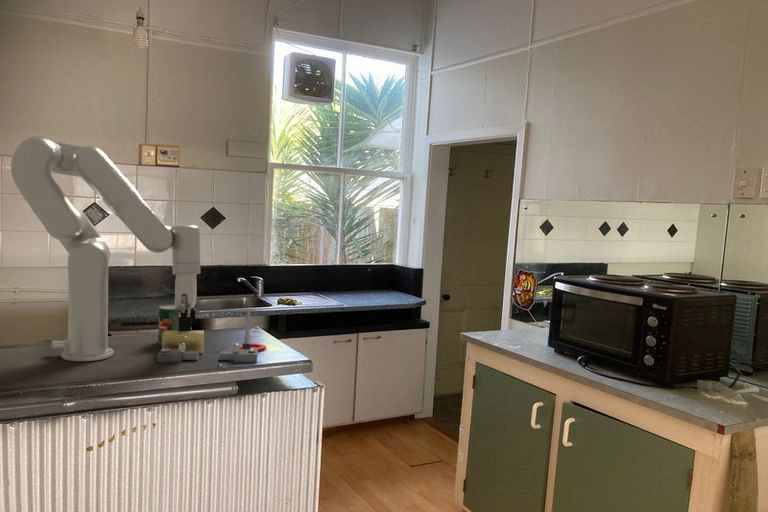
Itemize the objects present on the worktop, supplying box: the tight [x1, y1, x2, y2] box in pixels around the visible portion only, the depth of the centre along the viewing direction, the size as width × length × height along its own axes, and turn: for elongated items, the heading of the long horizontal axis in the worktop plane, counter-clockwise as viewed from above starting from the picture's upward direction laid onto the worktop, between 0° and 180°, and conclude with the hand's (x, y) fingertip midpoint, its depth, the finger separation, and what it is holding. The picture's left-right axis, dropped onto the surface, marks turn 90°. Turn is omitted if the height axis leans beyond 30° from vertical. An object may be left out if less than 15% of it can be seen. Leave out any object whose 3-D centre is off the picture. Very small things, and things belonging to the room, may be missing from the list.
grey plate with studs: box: [157, 342, 258, 363], centre depth 161 cm, size 26×6×4 cm, turn 101°
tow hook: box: [239, 308, 267, 353], centre depth 174 cm, size 8×13×9 cm
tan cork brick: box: [161, 330, 205, 353], centre depth 167 cm, size 11×4×6 cm, turn 104°
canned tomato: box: [157, 304, 180, 345], centre depth 177 cm, size 8×8×11 cm
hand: (187, 327), depth 167 cm, fingers open, 9 cm apart
